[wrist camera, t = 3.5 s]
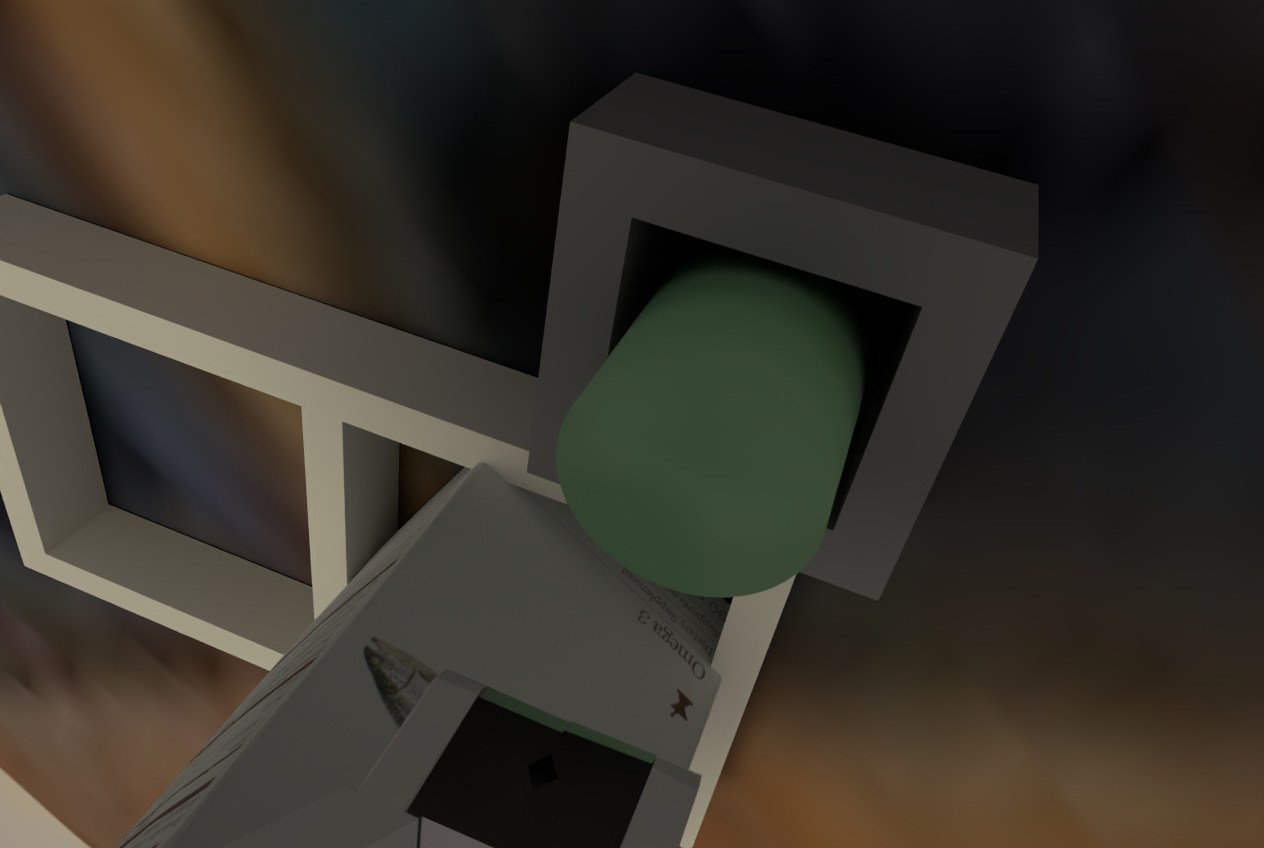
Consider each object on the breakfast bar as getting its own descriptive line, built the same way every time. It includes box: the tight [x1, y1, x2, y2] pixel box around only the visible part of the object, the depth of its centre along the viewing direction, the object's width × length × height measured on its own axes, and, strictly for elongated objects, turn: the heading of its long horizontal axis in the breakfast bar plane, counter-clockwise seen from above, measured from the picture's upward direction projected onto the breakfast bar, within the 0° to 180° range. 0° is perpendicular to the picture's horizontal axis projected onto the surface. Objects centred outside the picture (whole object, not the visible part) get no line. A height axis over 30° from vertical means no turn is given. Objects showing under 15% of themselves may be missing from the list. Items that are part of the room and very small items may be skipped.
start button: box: [556, 248, 870, 597], centre depth 15 cm, size 4×4×4 cm
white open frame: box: [0, 194, 796, 848], centre depth 24 cm, size 21×11×2 cm, turn 80°
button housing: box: [527, 73, 1039, 601], centre depth 17 cm, size 7×7×3 cm
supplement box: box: [115, 462, 731, 848], centre depth 19 cm, size 7×7×13 cm
